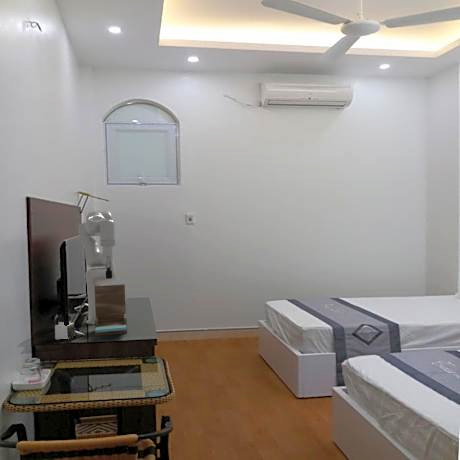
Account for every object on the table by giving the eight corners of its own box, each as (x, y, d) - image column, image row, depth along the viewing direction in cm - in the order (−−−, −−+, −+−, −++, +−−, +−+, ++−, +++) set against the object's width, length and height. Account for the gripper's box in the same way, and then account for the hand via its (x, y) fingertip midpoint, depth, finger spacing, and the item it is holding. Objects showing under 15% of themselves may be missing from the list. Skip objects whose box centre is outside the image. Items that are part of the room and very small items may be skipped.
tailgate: (95, 327, 255) (95, 330, 246) (126, 324, 259) (126, 327, 249) (95, 329, 255) (95, 332, 246) (126, 327, 259) (126, 329, 249)
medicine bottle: (68, 339, 251) (67, 316, 250) (55, 339, 252) (54, 316, 252) (75, 336, 258) (74, 313, 257) (62, 336, 259) (61, 313, 259)
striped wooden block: (96, 330, 271) (94, 286, 270) (126, 327, 275) (124, 284, 274) (95, 336, 256) (93, 289, 256) (127, 333, 260) (125, 287, 260)
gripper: (100, 243, 266) (102, 277, 267) (99, 244, 252) (101, 280, 252) (114, 242, 268) (116, 276, 269) (115, 243, 254) (116, 279, 254)
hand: (109, 278), depth 260 cm, fingers closed
